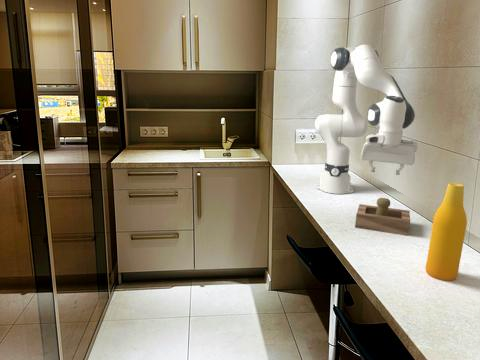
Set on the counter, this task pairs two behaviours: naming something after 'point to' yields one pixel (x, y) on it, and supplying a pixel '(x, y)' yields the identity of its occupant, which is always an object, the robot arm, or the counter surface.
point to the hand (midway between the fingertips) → (385, 173)
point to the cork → (382, 206)
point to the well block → (383, 220)
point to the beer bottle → (447, 235)
